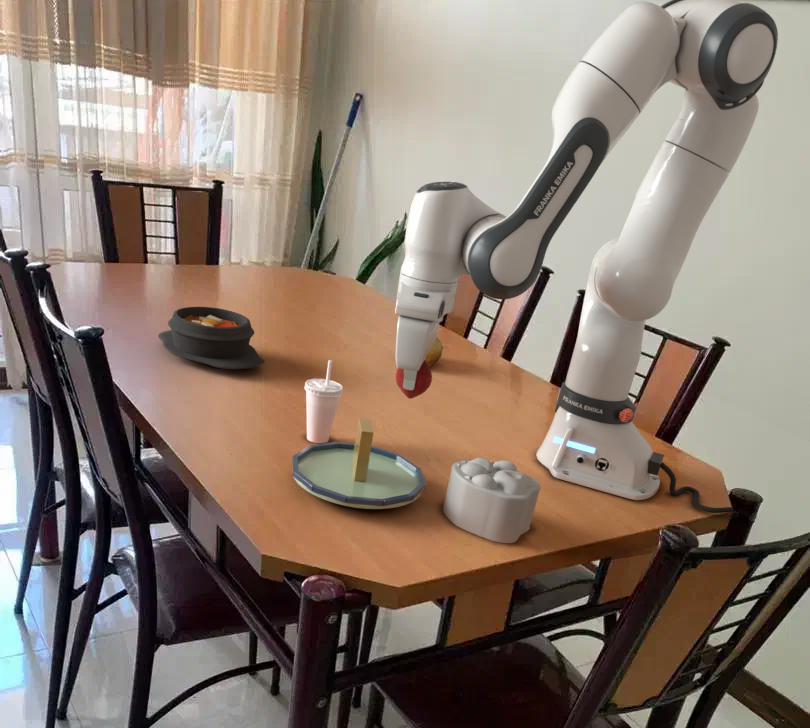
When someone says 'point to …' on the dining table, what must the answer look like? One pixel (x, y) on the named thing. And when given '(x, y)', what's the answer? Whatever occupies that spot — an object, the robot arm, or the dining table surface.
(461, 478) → the lumpy-topped squat cylinder
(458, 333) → the dining table surface
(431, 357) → the bread roll
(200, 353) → the casserole
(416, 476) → the plate
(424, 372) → the onion
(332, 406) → the smoothie
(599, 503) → the dining table surface
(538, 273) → the robot arm
